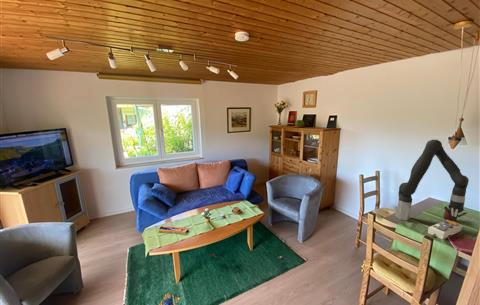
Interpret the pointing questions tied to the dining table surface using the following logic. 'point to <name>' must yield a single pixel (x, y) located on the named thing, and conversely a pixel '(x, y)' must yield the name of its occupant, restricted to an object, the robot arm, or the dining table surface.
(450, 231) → the power strip
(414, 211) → the dining table surface
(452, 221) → the rocker
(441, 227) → the rocker
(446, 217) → the mug
